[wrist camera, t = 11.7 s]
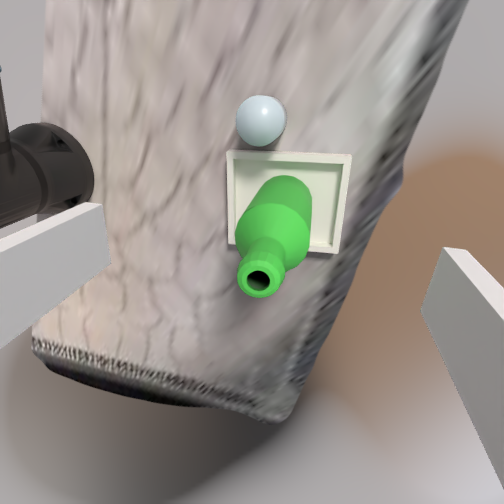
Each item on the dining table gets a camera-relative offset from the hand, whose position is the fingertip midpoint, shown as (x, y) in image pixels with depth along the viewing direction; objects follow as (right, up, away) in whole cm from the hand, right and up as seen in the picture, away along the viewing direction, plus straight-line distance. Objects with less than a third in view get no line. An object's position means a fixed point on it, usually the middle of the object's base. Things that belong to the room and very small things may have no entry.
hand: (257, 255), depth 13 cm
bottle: (+5, +8, +38) cm, 40 cm away
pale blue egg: (+2, +20, +34) cm, 40 cm away
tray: (+5, +8, +39) cm, 40 cm away
